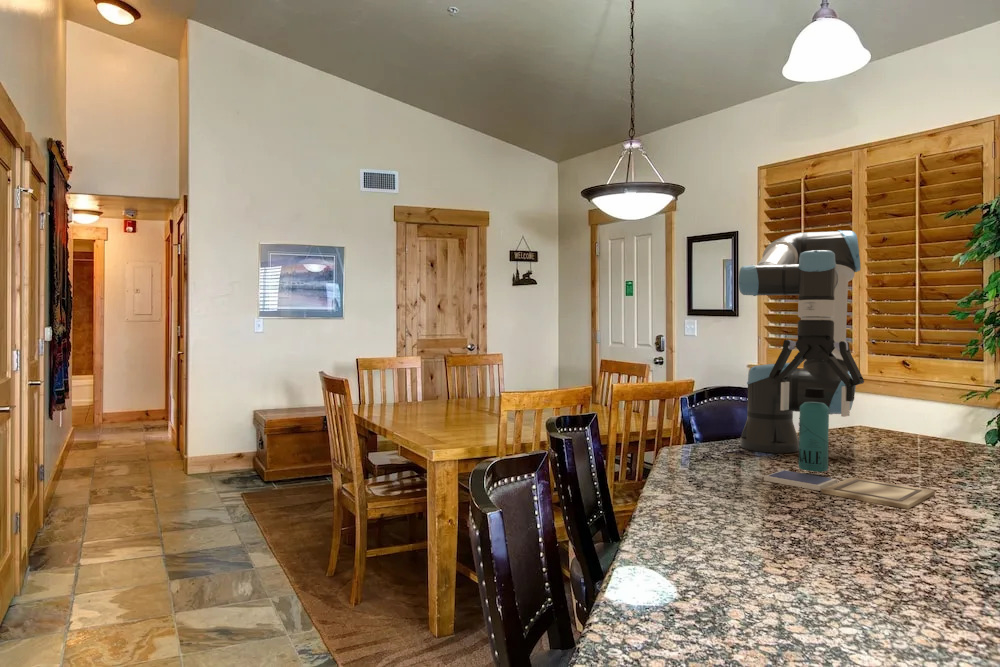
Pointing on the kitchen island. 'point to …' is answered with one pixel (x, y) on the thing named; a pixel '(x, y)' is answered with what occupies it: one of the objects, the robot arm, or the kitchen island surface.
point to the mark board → (878, 492)
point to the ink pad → (800, 480)
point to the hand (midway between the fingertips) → (814, 413)
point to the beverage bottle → (813, 433)
